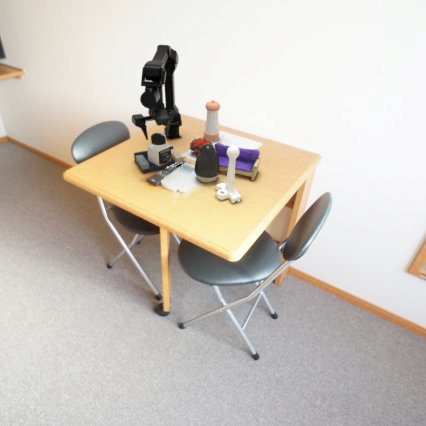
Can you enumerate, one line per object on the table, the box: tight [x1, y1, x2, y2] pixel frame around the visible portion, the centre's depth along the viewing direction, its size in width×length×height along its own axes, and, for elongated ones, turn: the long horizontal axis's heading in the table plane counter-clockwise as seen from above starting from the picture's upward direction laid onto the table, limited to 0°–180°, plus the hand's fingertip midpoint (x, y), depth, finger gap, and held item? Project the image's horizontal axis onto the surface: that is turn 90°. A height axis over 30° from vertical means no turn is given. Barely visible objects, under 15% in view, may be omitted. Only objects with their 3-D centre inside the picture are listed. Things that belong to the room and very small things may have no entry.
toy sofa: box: [213, 141, 262, 181], centre depth 132 cm, size 21×9×10 cm, turn 70°
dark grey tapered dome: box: [193, 144, 221, 183], centre depth 125 cm, size 10×10×15 cm
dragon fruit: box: [189, 137, 214, 156], centre depth 145 cm, size 8×8×12 cm
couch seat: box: [133, 145, 184, 175], centre depth 137 cm, size 18×12×4 cm, turn 117°
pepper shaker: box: [203, 99, 221, 143], centre depth 155 cm, size 7×7×19 cm
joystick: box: [216, 145, 242, 204], centre depth 114 cm, size 11×8×20 cm
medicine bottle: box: [146, 132, 172, 166], centre depth 133 cm, size 7×7×12 cm
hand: (157, 138), depth 131 cm, fingers open, 9 cm apart
